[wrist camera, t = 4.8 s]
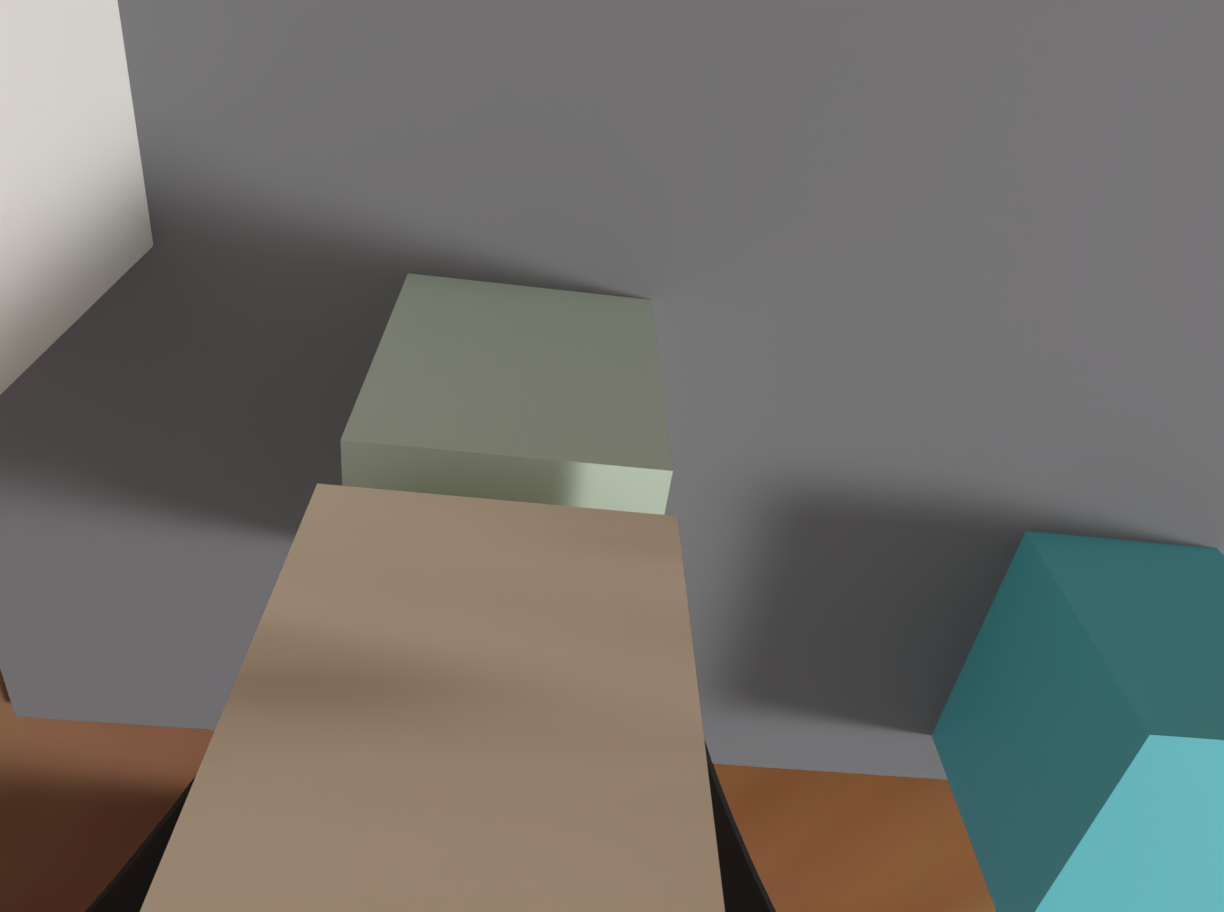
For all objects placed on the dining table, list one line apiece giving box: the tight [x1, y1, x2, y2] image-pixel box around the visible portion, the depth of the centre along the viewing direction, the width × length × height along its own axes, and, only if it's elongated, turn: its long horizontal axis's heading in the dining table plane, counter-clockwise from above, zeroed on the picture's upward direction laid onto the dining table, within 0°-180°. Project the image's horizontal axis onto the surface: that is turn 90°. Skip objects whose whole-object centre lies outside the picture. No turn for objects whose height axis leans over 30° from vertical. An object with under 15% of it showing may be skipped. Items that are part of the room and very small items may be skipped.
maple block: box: [140, 484, 725, 912], centre depth 10 cm, size 6×4×5 cm, turn 173°
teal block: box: [931, 531, 1224, 912], centre depth 18 cm, size 6×4×5 cm, turn 173°
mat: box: [0, 0, 1224, 780], centre depth 17 cm, size 21×27×1 cm
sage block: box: [341, 273, 673, 515], centre depth 15 cm, size 6×4×5 cm, turn 173°
